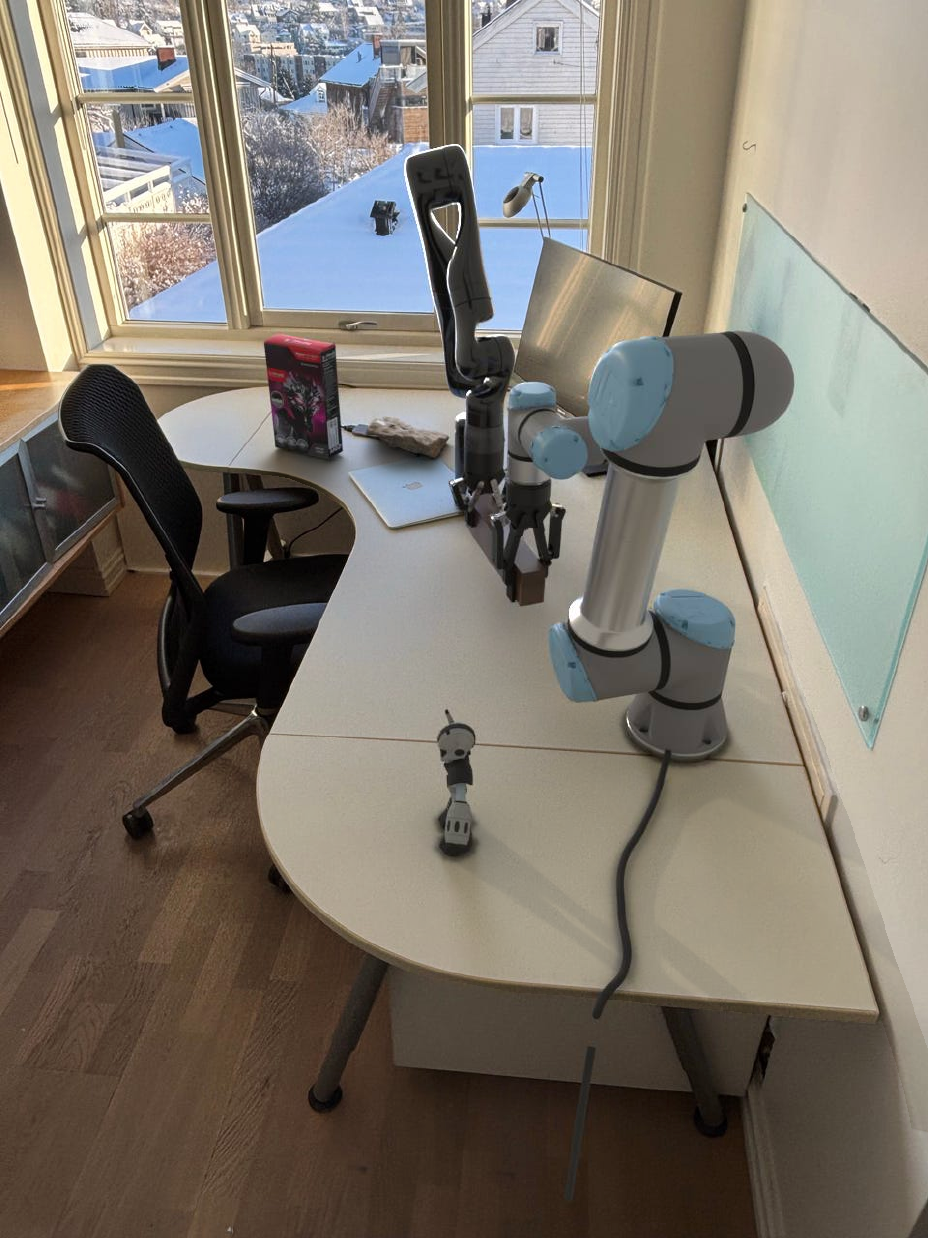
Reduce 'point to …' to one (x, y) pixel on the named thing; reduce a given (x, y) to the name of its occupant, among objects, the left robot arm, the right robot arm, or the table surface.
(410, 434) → the stone
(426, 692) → the table surface
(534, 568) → the beam
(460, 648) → the table surface
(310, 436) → the graphics card box
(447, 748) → the robot
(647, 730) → the right robot arm
